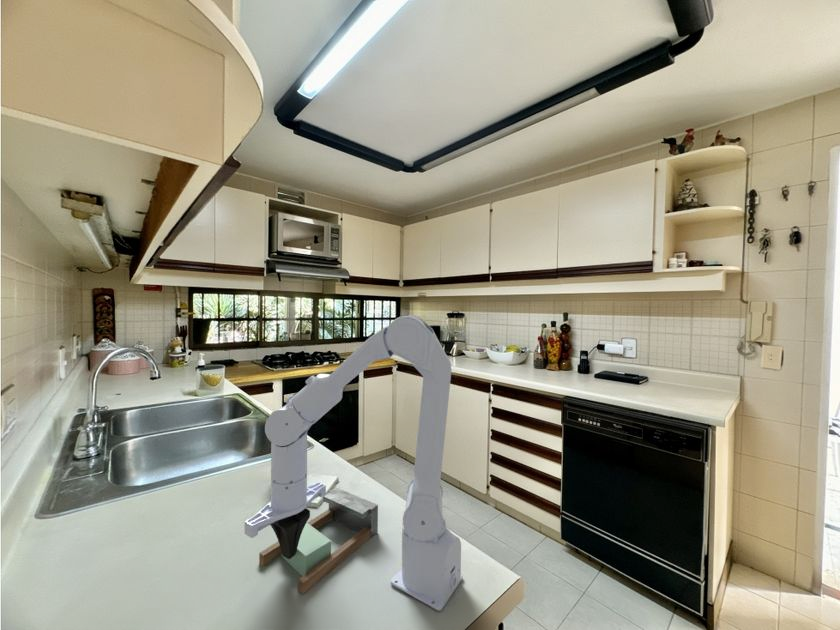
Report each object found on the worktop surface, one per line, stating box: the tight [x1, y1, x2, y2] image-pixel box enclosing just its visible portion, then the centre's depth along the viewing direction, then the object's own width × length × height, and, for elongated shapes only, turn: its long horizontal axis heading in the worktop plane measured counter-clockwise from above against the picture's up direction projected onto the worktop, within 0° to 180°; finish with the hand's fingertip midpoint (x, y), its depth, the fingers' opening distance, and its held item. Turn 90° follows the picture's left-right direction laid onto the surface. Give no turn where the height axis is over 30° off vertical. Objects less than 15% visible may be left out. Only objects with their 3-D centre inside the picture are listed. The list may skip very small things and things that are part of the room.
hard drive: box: [307, 473, 340, 508], centre depth 84 cm, size 2×8×12 cm
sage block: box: [280, 522, 332, 577], centre depth 61 cm, size 8×5×4 cm, turn 50°
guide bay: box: [258, 486, 379, 595], centre depth 64 cm, size 12×18×6 cm, turn 147°
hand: (288, 554), depth 58 cm, fingers closed
